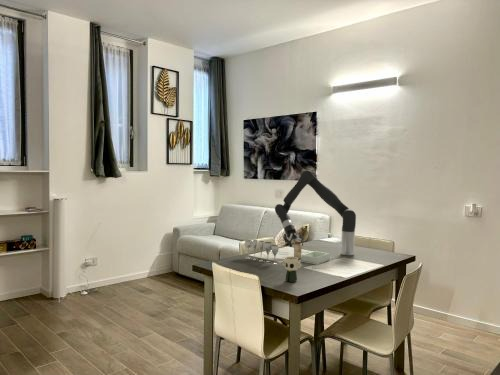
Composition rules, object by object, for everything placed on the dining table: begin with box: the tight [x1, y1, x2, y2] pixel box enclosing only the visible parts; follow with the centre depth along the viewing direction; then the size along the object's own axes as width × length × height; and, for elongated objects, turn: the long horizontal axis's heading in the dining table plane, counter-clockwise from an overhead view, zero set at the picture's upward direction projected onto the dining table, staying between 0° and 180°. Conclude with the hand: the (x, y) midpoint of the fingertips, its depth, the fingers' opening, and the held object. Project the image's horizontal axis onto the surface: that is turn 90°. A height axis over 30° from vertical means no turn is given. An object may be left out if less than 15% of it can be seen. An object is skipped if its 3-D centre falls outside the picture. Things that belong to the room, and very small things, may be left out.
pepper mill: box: [293, 240, 303, 260], centre depth 275 cm, size 5×5×12 cm
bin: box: [300, 250, 331, 266], centre depth 269 cm, size 18×12×4 cm, turn 143°
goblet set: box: [244, 239, 280, 265], centre depth 265 cm, size 28×6×13 cm, turn 49°
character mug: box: [282, 256, 302, 283], centre depth 218 cm, size 11×7×13 cm, turn 57°
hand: (296, 246), depth 276 cm, fingers open, 8 cm apart
